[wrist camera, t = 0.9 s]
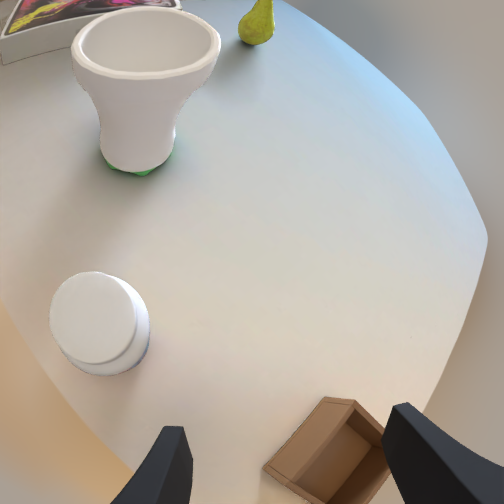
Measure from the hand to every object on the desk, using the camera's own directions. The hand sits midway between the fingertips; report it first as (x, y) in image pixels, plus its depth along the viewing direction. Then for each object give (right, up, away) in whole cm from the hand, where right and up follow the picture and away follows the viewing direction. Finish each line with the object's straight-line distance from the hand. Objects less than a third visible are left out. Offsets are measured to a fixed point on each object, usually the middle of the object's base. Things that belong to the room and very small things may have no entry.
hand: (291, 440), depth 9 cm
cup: (-13, +17, +21) cm, 30 cm away
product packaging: (-29, +47, +26) cm, 61 cm away
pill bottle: (-13, -1, +14) cm, 19 cm away
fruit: (-2, +41, +34) cm, 53 cm away
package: (+6, -14, +16) cm, 22 cm away
